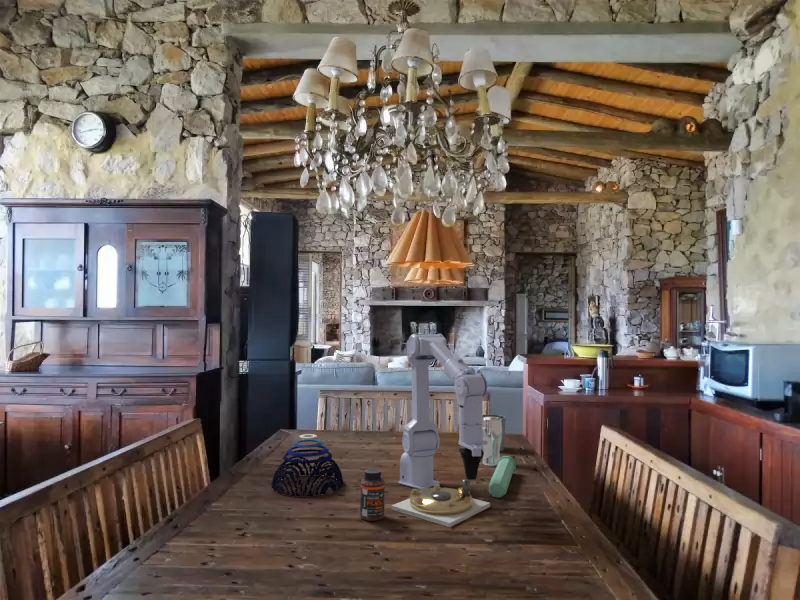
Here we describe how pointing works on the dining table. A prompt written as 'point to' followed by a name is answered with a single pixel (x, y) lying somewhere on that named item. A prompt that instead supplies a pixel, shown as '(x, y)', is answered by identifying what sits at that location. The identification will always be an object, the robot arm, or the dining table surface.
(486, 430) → the beer glass
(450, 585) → the dining table surface
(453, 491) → the brass round disc
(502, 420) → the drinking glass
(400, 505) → the dial plate
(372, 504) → the supplement bottle
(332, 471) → the decorative bowl
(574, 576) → the dining table surface
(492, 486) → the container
